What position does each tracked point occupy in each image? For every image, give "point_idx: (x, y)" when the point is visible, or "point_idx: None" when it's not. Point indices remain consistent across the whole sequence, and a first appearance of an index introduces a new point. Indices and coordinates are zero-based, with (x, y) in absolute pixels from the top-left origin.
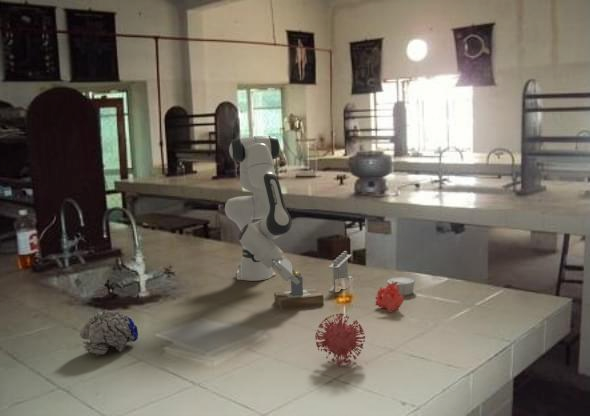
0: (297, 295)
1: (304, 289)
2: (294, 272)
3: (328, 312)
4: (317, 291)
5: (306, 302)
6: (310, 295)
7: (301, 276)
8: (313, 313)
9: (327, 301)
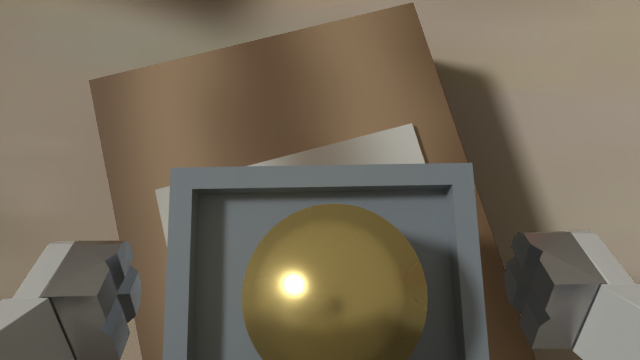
0: None
1: (158, 191)
2: (327, 339)
3: (609, 28)
4: (259, 51)
5: None
6: (413, 133)
7: (462, 177)
8: (632, 149)
9: (293, 14)
